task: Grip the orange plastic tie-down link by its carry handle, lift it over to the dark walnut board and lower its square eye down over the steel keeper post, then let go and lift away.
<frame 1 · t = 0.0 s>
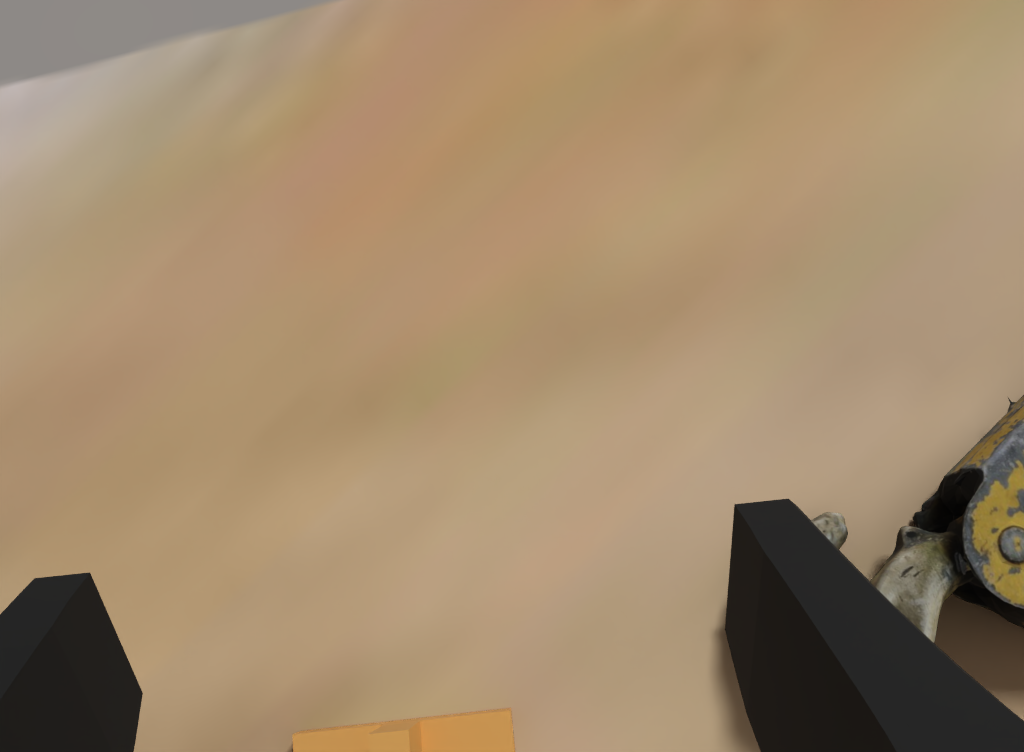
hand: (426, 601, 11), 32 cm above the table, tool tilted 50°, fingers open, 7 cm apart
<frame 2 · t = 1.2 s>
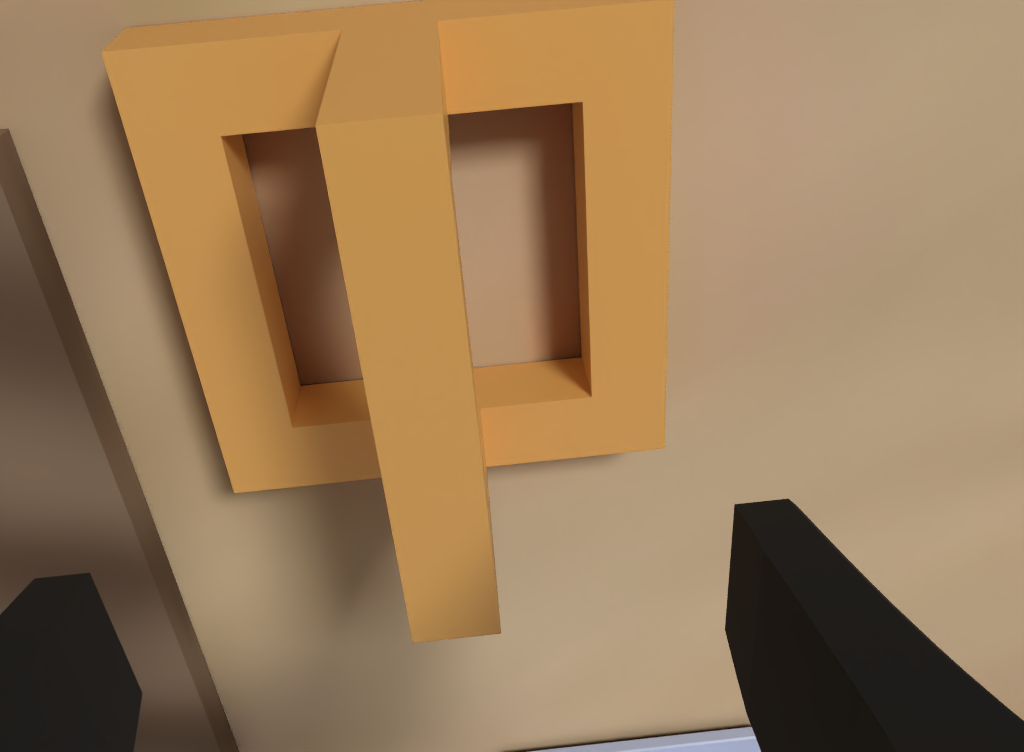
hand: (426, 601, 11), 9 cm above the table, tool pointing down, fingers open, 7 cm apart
tie-down link: (424, 243, 19), on the table
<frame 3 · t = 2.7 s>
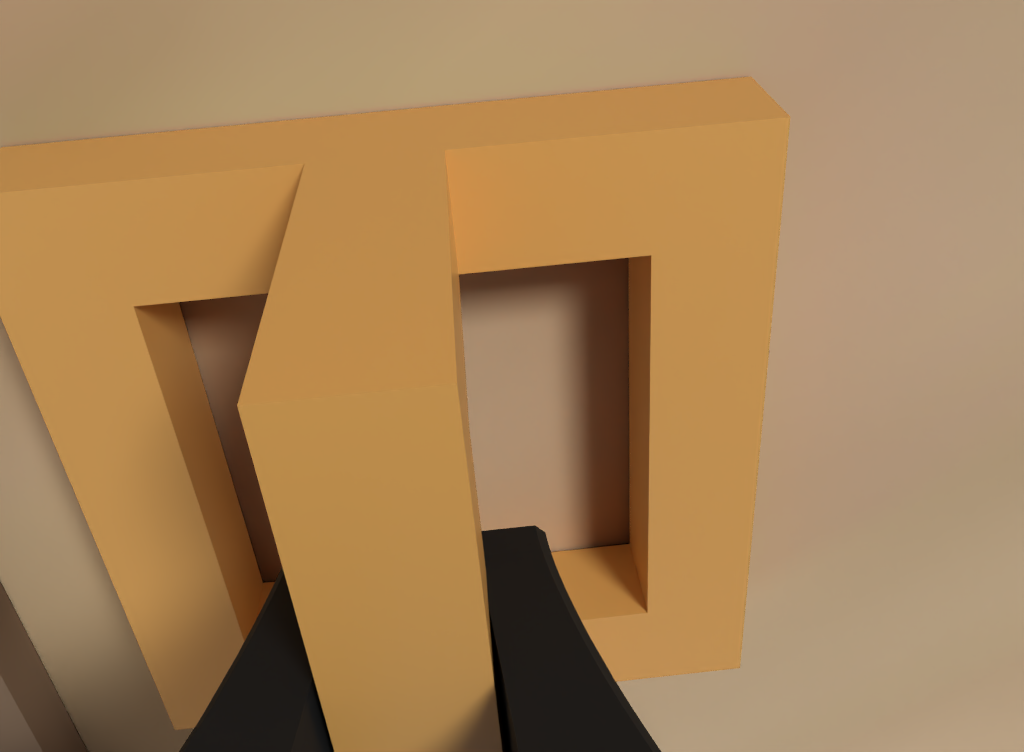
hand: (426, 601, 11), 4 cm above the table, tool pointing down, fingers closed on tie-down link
tie-down link: (425, 414, 14), on the table, touching gripper
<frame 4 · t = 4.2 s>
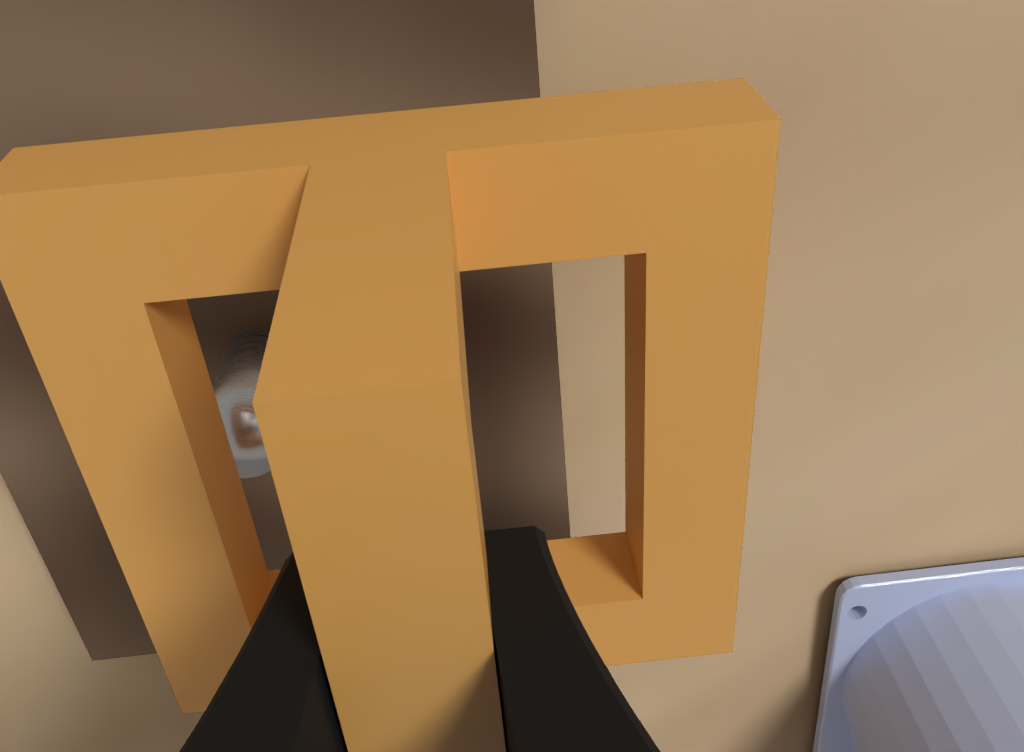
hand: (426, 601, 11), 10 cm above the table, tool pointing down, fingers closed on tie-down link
walnut board: (257, 295, 20), on the table
tie-down link: (426, 406, 14), point 6 cm above the table, touching gripper
keeper post: (267, 337, 20), resting on walnut board
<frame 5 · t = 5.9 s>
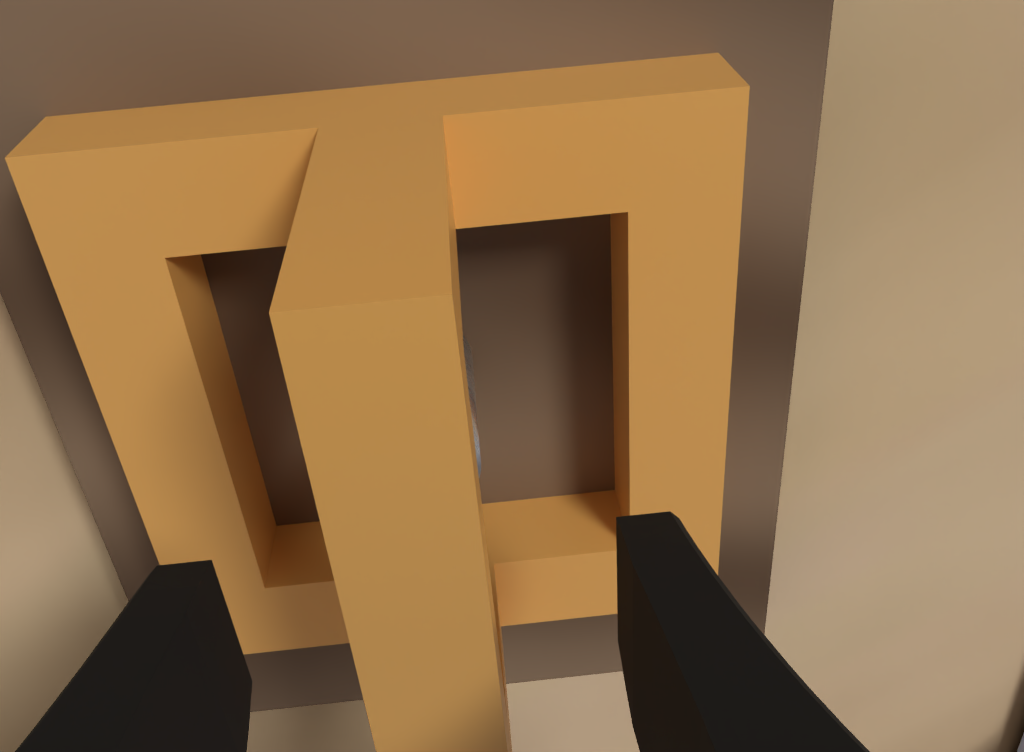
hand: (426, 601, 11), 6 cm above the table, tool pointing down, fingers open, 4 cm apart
walnut board: (417, 274, 16), on the table
tie-down link: (425, 365, 15), point 1 cm above the table, touching walnut board
keeper post: (425, 327, 16), resting on walnut board
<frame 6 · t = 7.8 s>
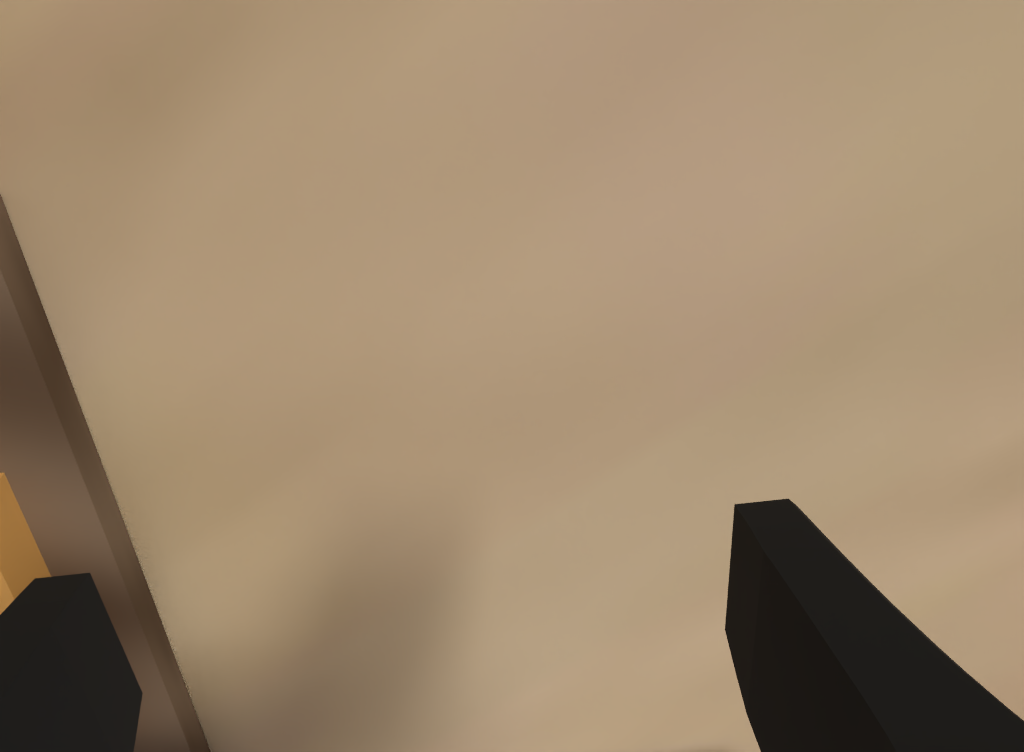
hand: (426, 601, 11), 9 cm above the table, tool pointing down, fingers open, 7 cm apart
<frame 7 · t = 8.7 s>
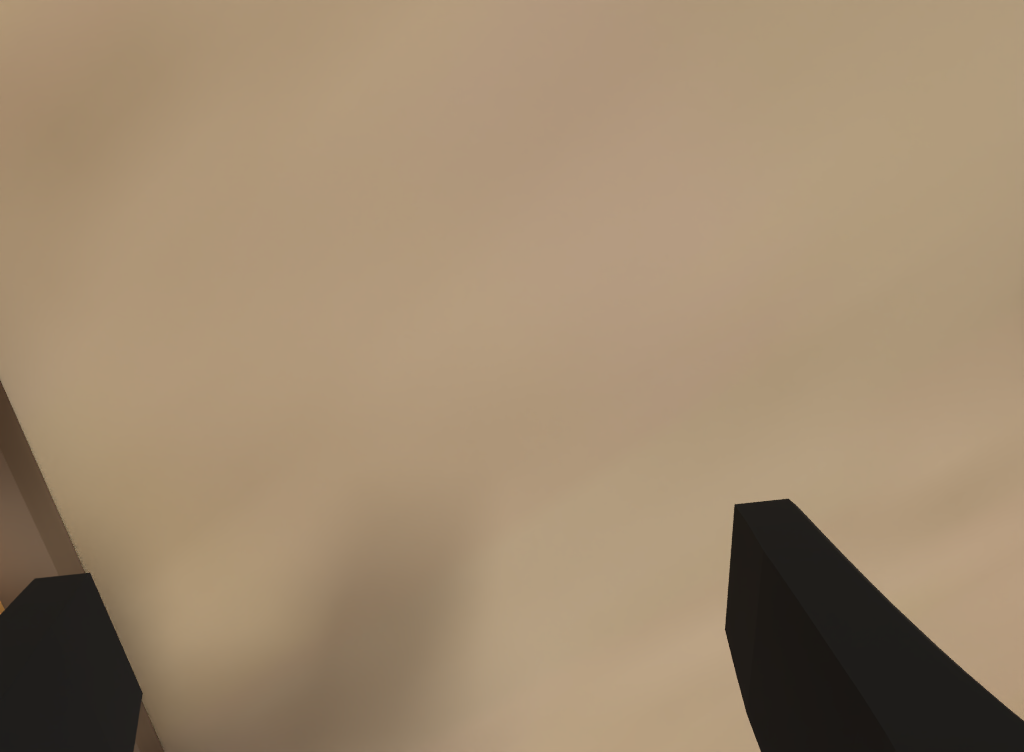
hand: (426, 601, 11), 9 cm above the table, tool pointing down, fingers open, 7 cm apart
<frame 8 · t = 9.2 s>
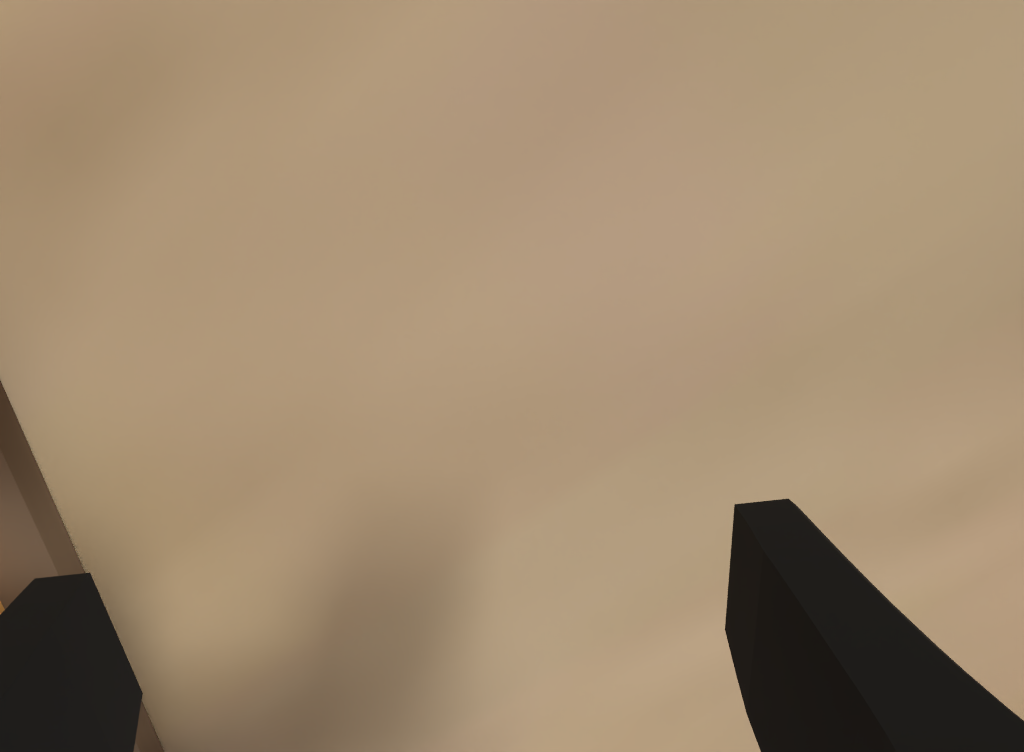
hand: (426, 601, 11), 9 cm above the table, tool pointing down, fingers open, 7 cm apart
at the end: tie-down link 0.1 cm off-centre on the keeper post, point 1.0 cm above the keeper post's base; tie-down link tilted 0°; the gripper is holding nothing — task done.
